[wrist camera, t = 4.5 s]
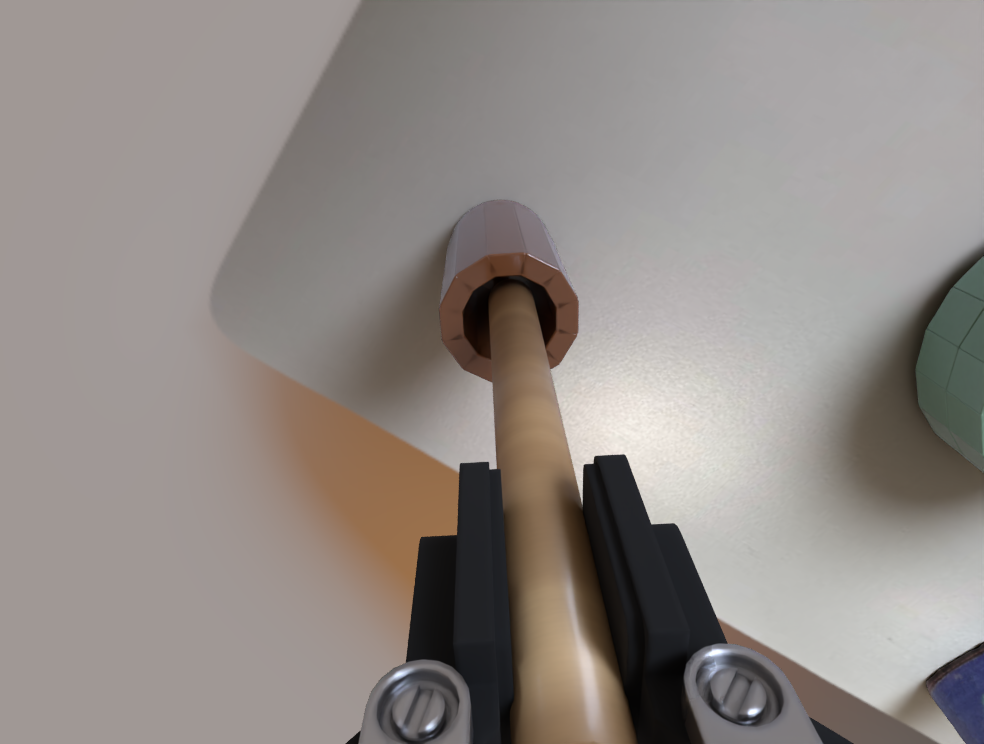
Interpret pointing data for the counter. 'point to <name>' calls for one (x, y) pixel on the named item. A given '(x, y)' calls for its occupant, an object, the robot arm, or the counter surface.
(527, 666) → the cooking stick
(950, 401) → the bowl
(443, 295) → the crock
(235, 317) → the counter surface
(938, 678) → the flask
